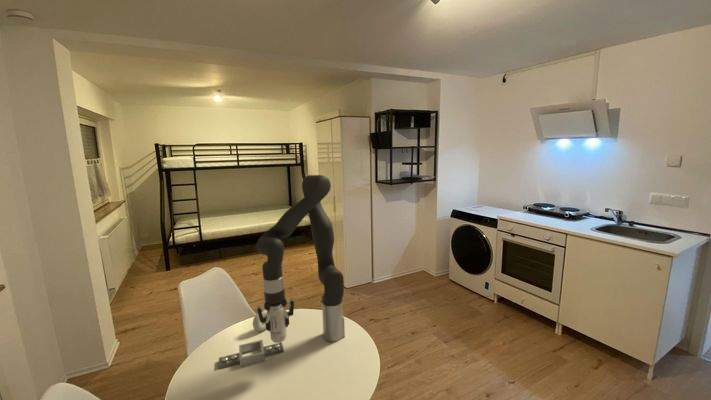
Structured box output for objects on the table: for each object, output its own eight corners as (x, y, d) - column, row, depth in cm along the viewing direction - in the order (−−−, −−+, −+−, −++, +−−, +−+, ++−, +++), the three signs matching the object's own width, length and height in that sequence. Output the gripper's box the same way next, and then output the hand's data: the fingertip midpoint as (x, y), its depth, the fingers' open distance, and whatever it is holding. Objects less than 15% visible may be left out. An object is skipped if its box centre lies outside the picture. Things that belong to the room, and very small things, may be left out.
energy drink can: (267, 342, 118) (264, 306, 115) (277, 332, 124) (273, 298, 121) (280, 345, 116) (277, 308, 113) (289, 335, 121) (286, 300, 119)
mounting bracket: (281, 342, 138) (280, 335, 138) (284, 355, 130) (284, 348, 129) (219, 357, 129) (218, 350, 129) (218, 372, 120) (217, 364, 120)
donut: (269, 324, 153) (267, 305, 151) (273, 326, 151) (272, 307, 149) (252, 334, 145) (250, 314, 143) (256, 336, 143) (254, 316, 141)
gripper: (291, 280, 122) (294, 318, 125) (253, 287, 117) (257, 327, 120) (294, 288, 115) (298, 328, 118) (254, 296, 110) (259, 338, 113)
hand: (277, 327), depth 119 cm, fingers closed on energy drink can, 6 cm apart
